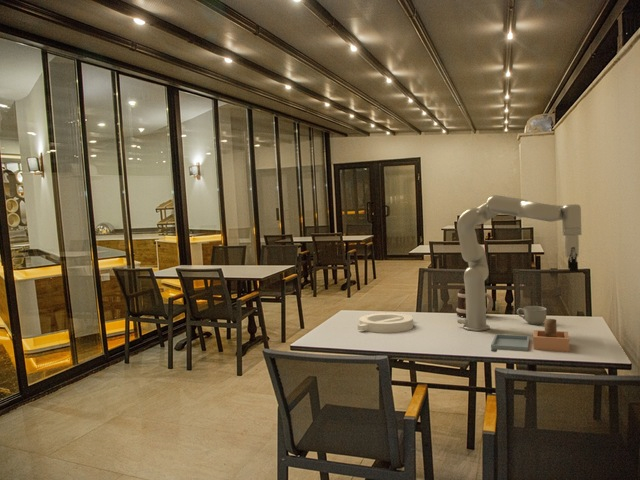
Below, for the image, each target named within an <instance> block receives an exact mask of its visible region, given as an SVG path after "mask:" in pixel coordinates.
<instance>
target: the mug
mask: <svg viewBox="0 0 640 480" xmlns="http://www.w3.org/2000/svg"><path fill="white" fill-rule="evenodd" d="M485 298H487V299H488V303H489V304H488V307H486V313H487V312H490V311H491V310H492V309H493V307H494V301H493V297H492V295H490V294H489V293H487V292H485ZM456 315H457V316H458V315H459V316H463V317H462V318H464V317H466V297H465V287H464V288H460V289H459V290H458V293H457V306H456ZM459 316H458V317H459Z"/></svg>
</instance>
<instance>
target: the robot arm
mask: <svg viewBox="0 0 640 480" xmlns="http://www.w3.org/2000/svg"><path fill="white" fill-rule="evenodd" d="M486 199H487V200H486V202H485V203H482V204H481V205H479V206H478V207H471V208H468V209H467V210H465V211H464V212H463V213H461V214H460V216H459V218H458V219H457V222H456V226H457V227H456V228H457V235H458V241H459V246H460V253H461V257H462V259H463V260H464V262H466V263H467V264H468V267H466V269H465V270H464V273H463V282H464V288H465V297H466V318H464V319H461V318H460V319H457V324H459V325H460V324H461V325H463V329H464V330H467V331H475V332H477V331H478V332H481V331H482V332H483V331H484V332H485V331H488V330H490V328H491V326H490V325H489V324H487V312H486V308H487V303H486V302H487V301H486V298H487V297H486V296H485V293H486V286H485V281H486V280H487V279H488V278H489V275H490V274H489V273H490V272H489V265H488V260H487V255H486V251H485V249H484V247H483V245H481V244H480V243H479V242H478V238H477V233H476V229H475V228H476V226H478V225H482V224H483V225H484V223H487V222H488V221H489V220H492V219H493V218H495V217H496V216H498V215H506V216H512V217H517V218H518V217H519V218H526V219H531V220H538V221H543V222H549V223H550V222H558V221H561V224H562V236H564V253H565V257H566V258H567V259H568V260H567V268H568V270H569V271H570V272H578V271H579V262H578V257H579V251H580V249H579V247H580V243H579V242H580V239H579V237H580V236H582V208H581V205H579V204H573V203H572V204H564V205H556V204H550V203H549V204H548V203H541V202H534V201H529V200H527V199H524V198H516V197H511V196H503V195H497V194H493V195H491V196H489V197H488V198H486Z"/></svg>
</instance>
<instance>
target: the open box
mask: <svg viewBox="0 0 640 480" xmlns="http://www.w3.org/2000/svg"><path fill="white" fill-rule="evenodd" d="M532 339H533V340H532V342H533V343H532V344H533V346H532V347H533V350H538V351H552V352H553V351H554V352H555V351H556V352H570V337H569V331H564V330H563V331H561V330H559V331H558V330H557V337H545V329H544V330H542V329H540V330H539V329H533V333H532Z"/></svg>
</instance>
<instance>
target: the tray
mask: <svg viewBox="0 0 640 480" xmlns="http://www.w3.org/2000/svg"><path fill="white" fill-rule="evenodd" d="M529 345H530V335H517V334H499V333H497V334H496V333H495V334H494V337H493V340H492V342H491V345H490V350H491V351H490V352H498V350H504V351H508V350H509V351H522V352H523V351H524V352H528V351H529Z"/></svg>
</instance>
